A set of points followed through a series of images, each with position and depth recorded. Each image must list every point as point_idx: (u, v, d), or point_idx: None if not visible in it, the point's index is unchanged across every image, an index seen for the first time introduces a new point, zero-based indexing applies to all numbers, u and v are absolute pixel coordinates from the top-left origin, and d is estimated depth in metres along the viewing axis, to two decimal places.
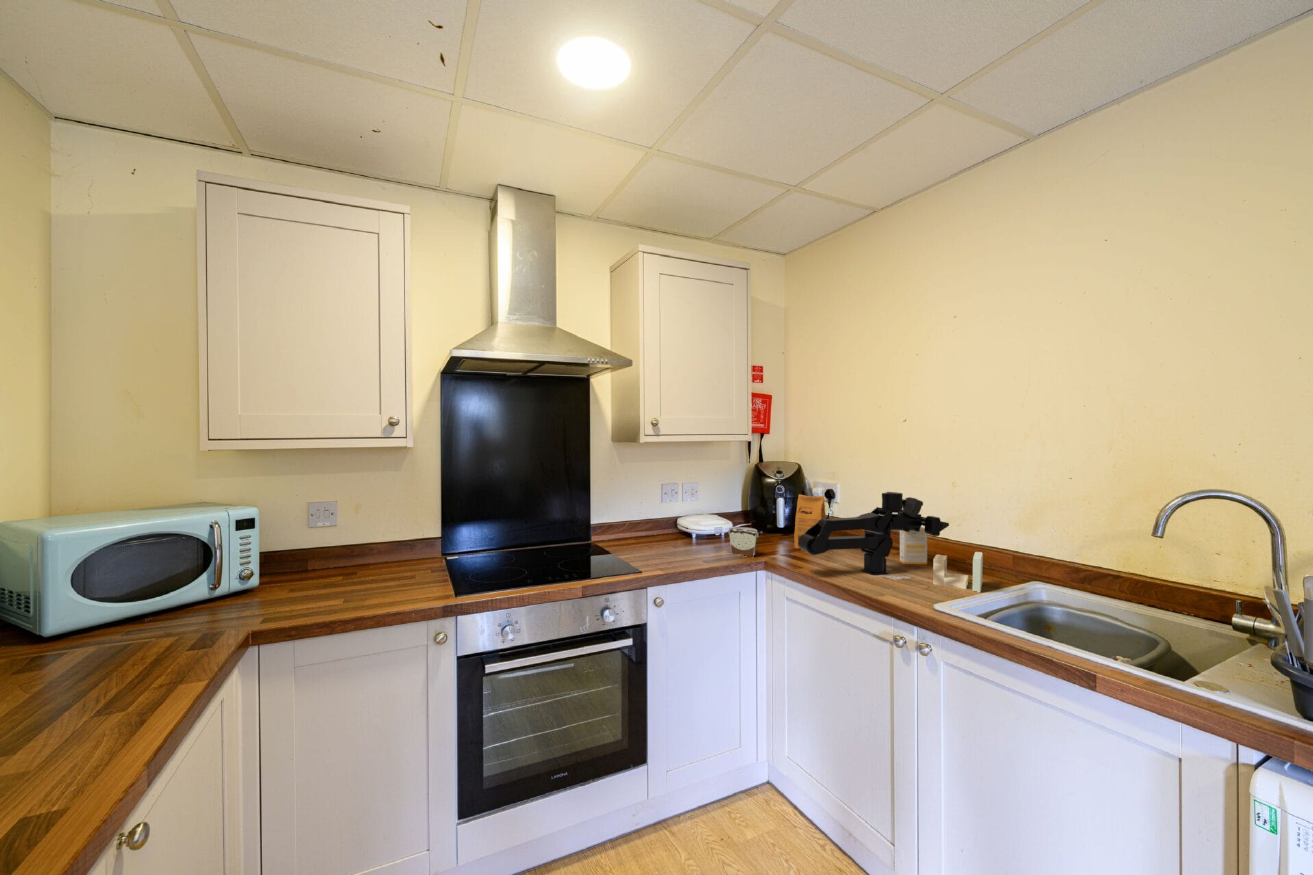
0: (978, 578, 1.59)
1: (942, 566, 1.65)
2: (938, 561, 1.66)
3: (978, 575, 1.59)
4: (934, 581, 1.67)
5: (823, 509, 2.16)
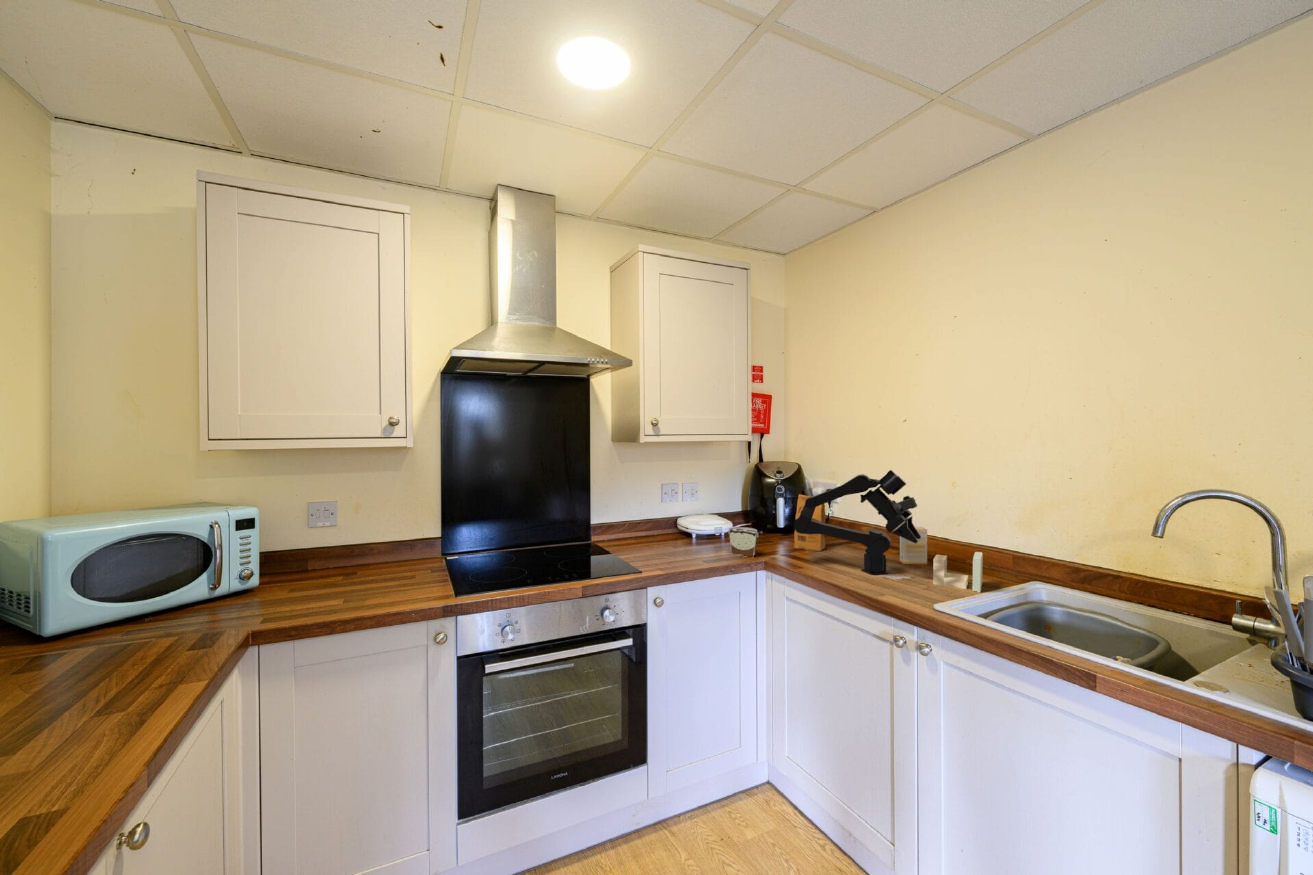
0: (978, 578, 1.59)
1: (942, 566, 1.65)
2: (938, 561, 1.66)
3: (978, 575, 1.59)
4: (934, 581, 1.67)
5: (823, 509, 2.16)
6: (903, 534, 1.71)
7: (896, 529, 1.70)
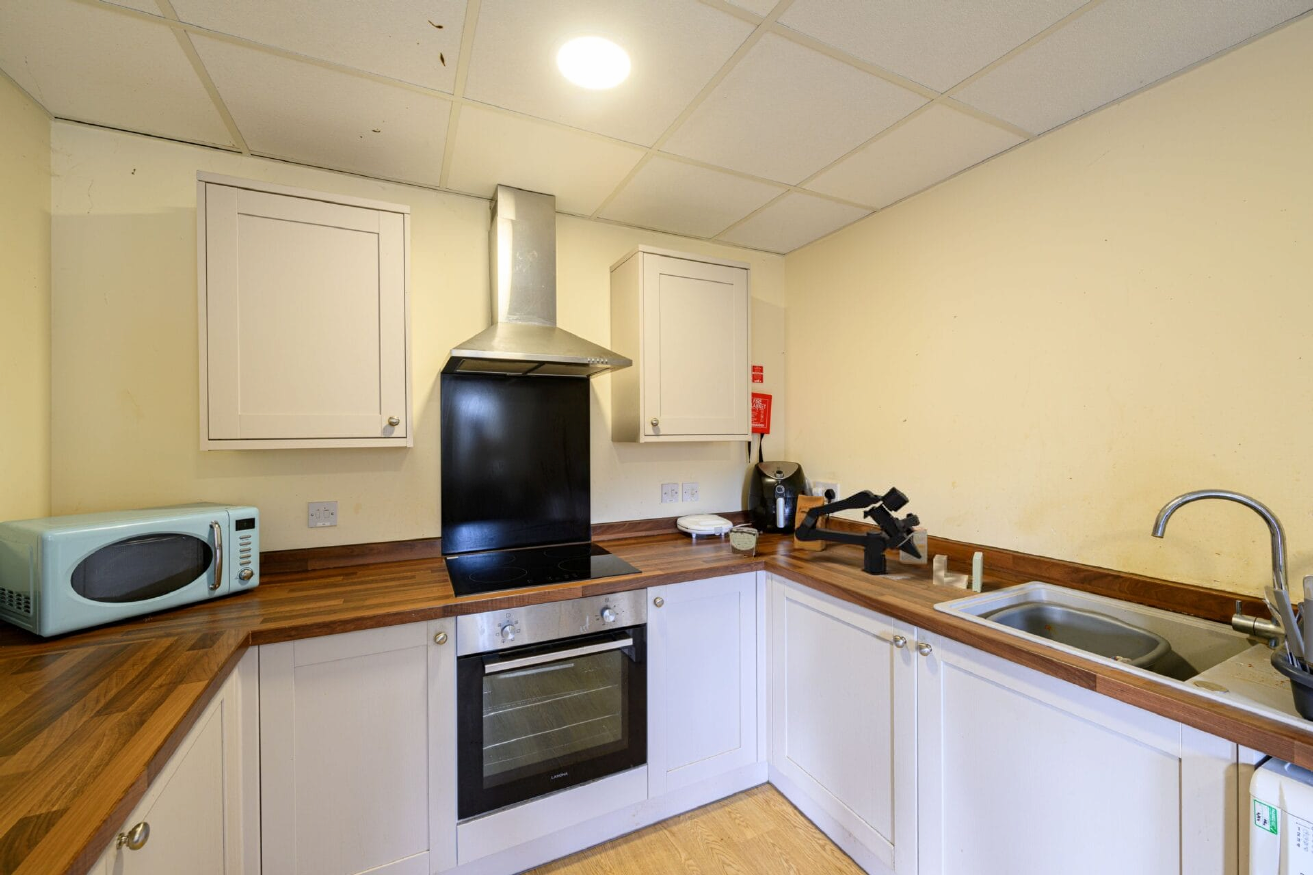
0: (978, 578, 1.59)
1: (942, 566, 1.65)
2: (938, 561, 1.66)
3: (978, 575, 1.59)
4: (934, 581, 1.67)
5: None
6: (907, 550, 1.73)
7: (900, 545, 1.73)
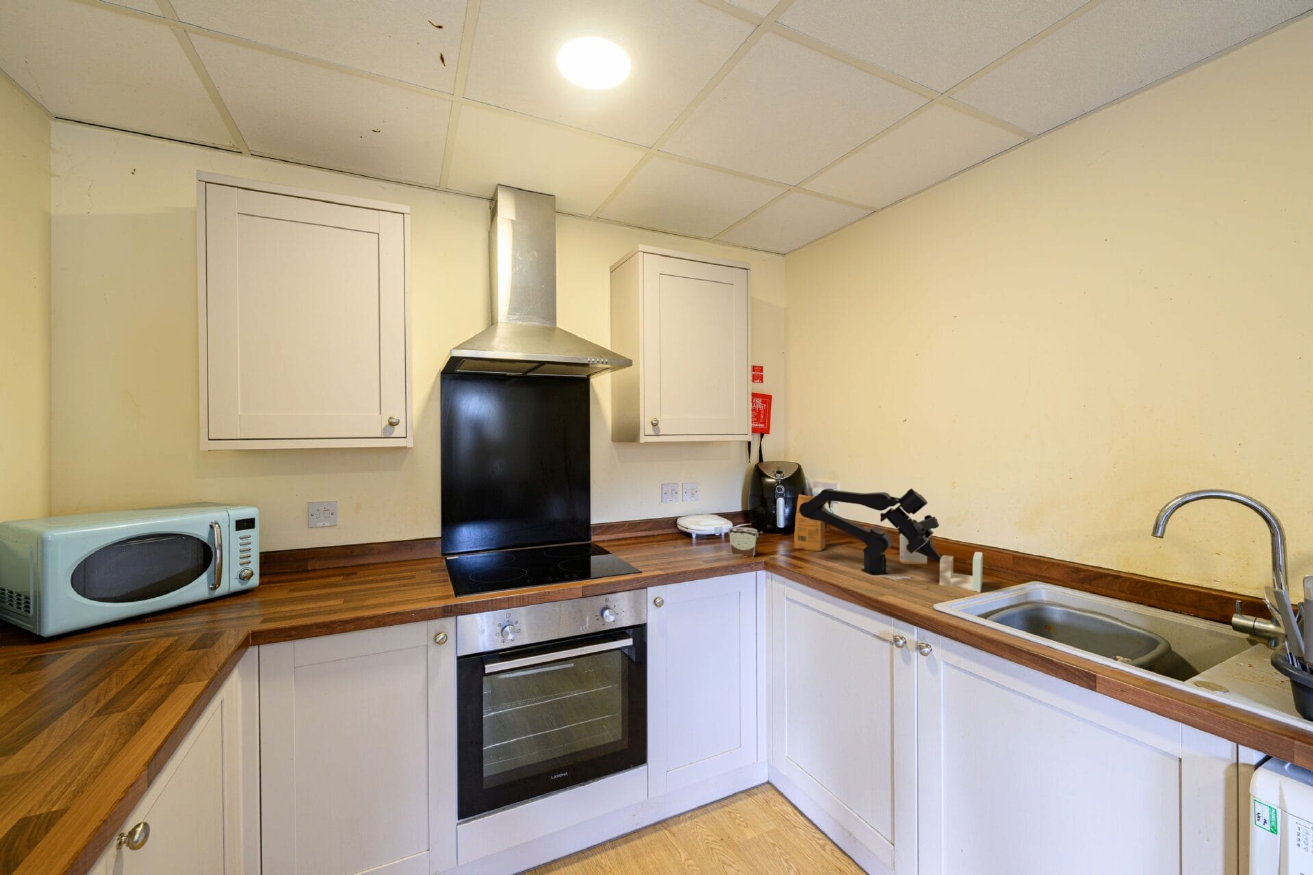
0: (978, 578, 1.59)
1: (949, 567, 1.64)
2: (945, 562, 1.65)
3: (978, 575, 1.59)
4: (940, 582, 1.66)
5: None
6: (926, 552, 1.70)
7: (919, 548, 1.69)
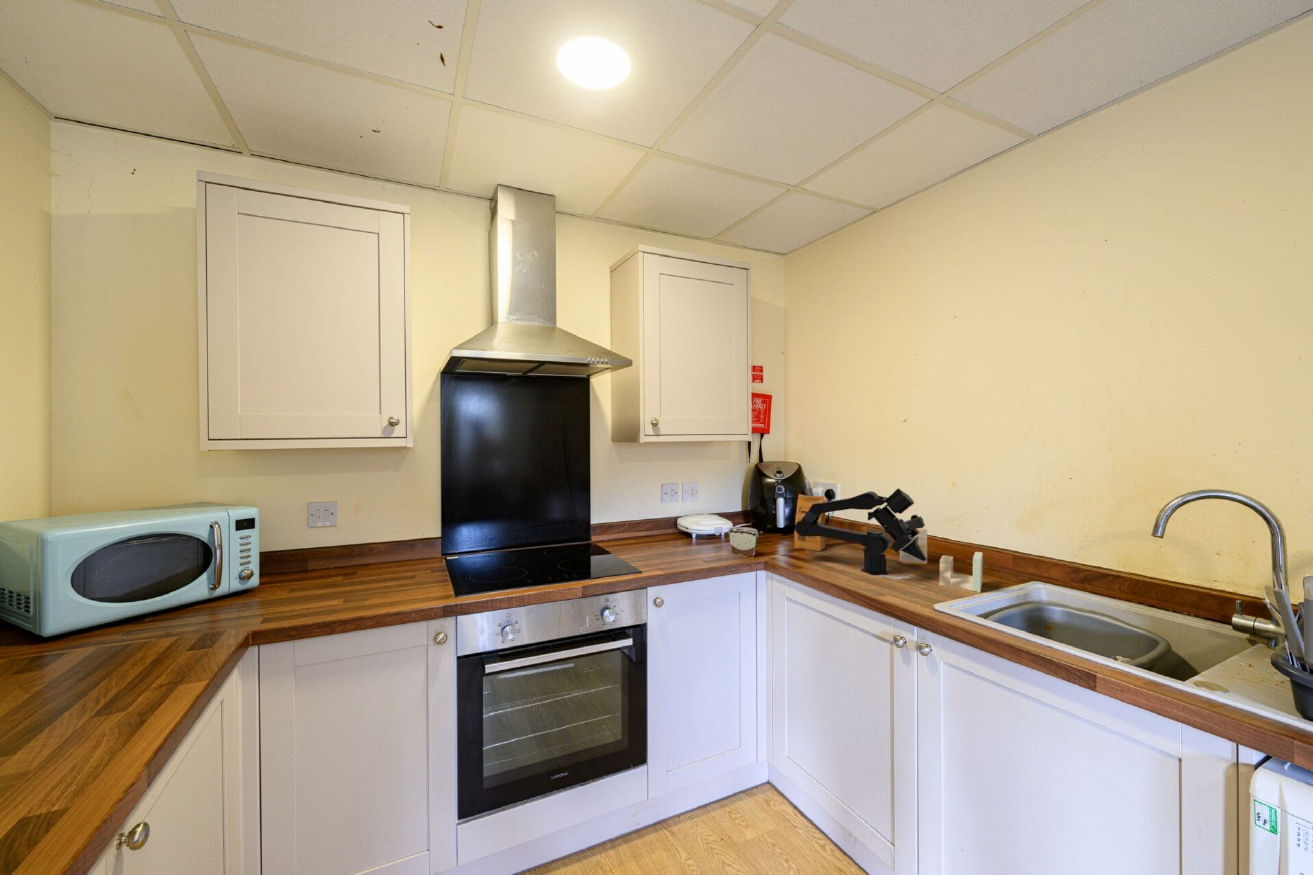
0: (978, 578, 1.59)
1: (948, 567, 1.64)
2: (944, 562, 1.65)
3: (978, 575, 1.59)
4: (940, 582, 1.66)
5: None
6: (912, 552, 1.73)
7: (905, 547, 1.72)
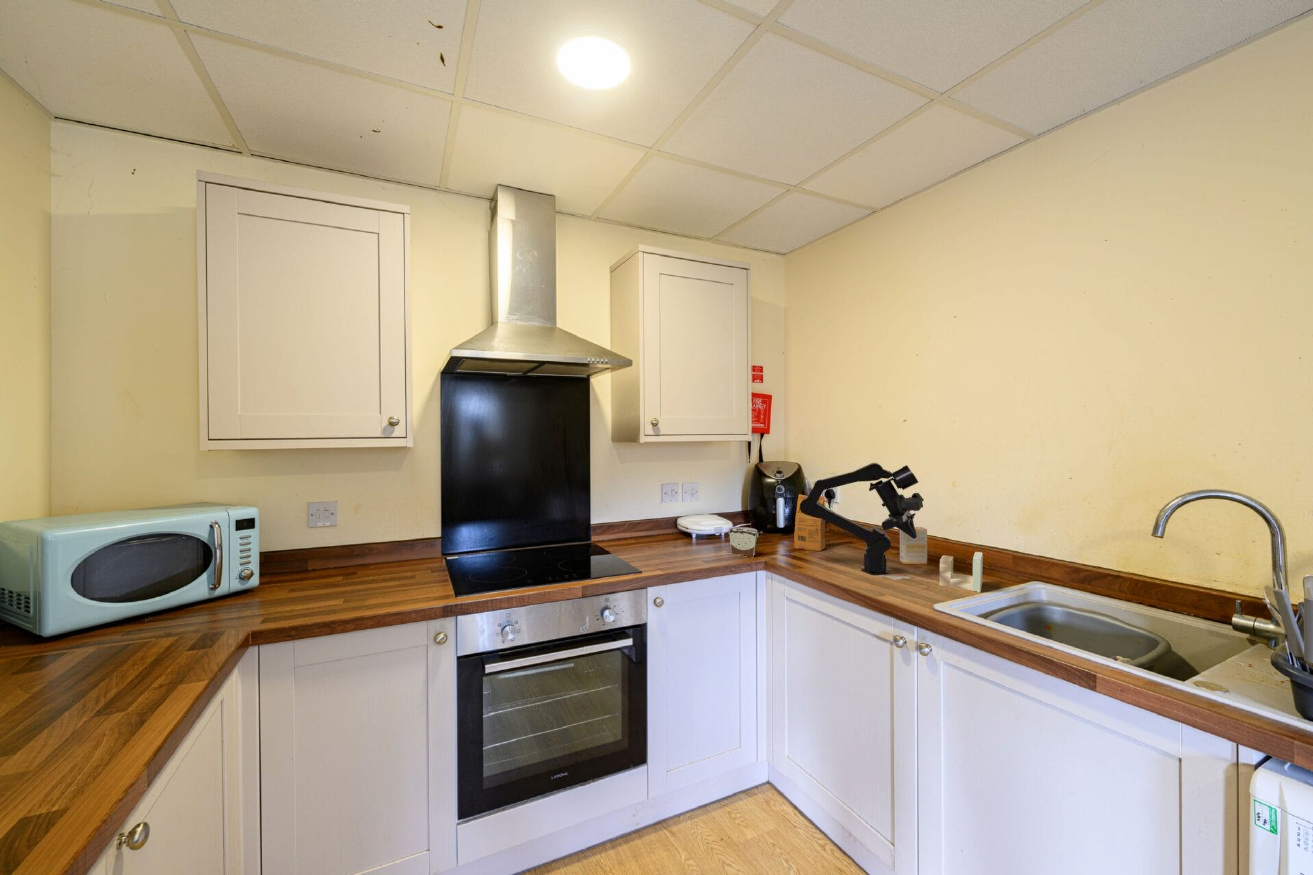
0: (978, 578, 1.59)
1: (948, 567, 1.64)
2: (944, 562, 1.65)
3: (978, 575, 1.59)
4: (940, 582, 1.66)
5: None
6: (903, 528, 1.76)
7: None
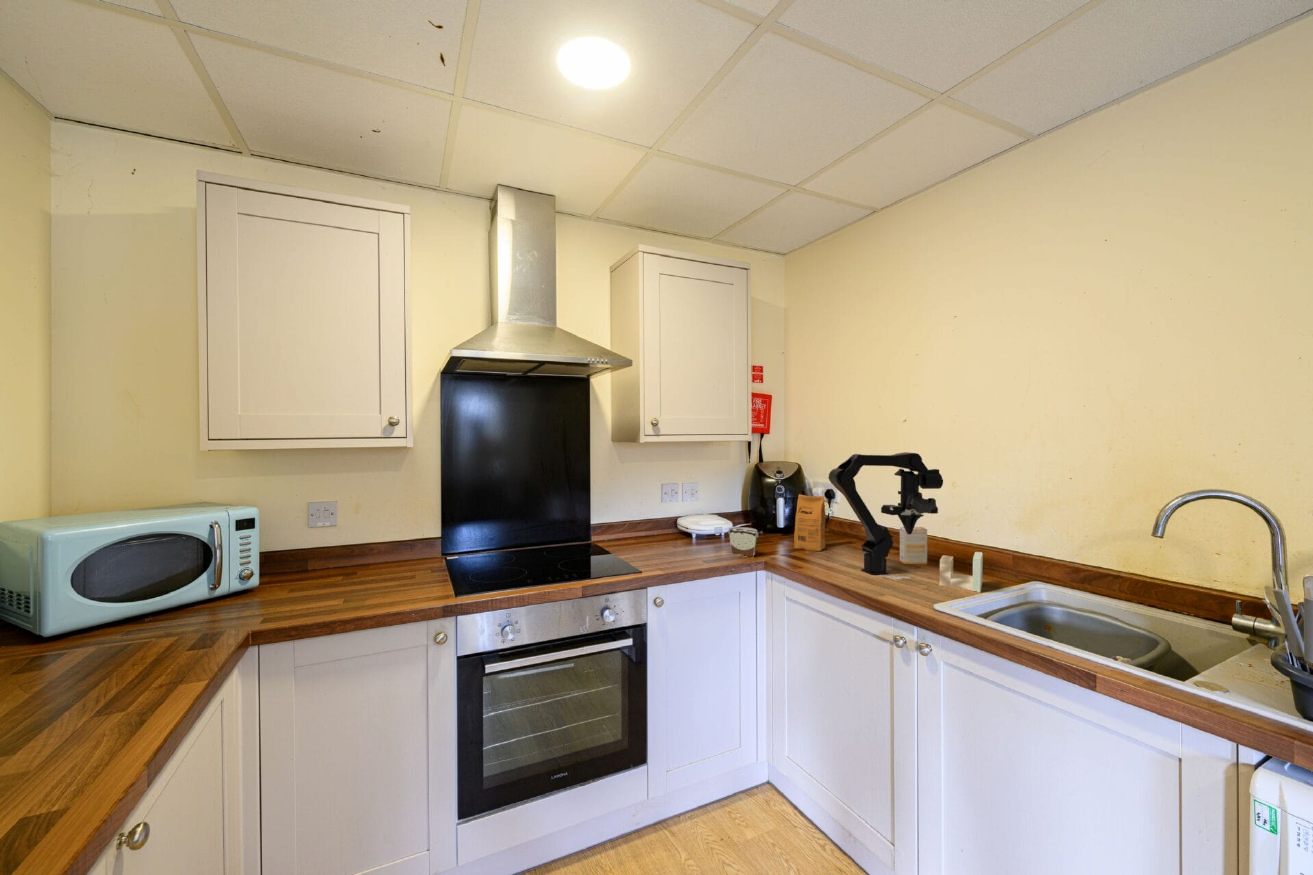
0: (978, 578, 1.59)
1: (949, 567, 1.64)
2: (944, 562, 1.65)
3: (978, 575, 1.59)
4: (940, 582, 1.66)
5: (823, 509, 2.16)
6: (903, 521, 1.82)
7: None
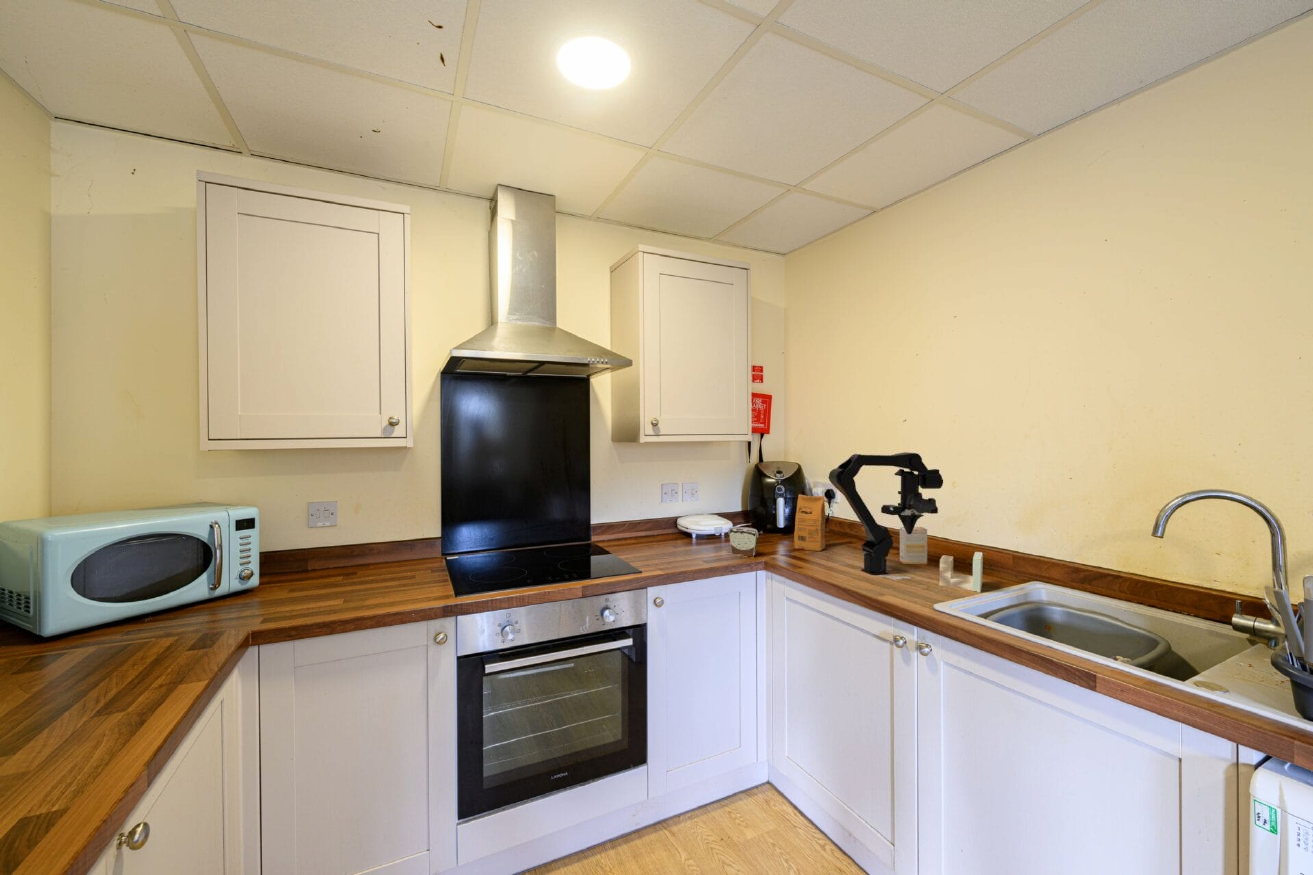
0: (978, 578, 1.59)
1: (948, 567, 1.64)
2: (944, 562, 1.65)
3: (978, 575, 1.59)
4: (940, 582, 1.66)
5: (823, 509, 2.16)
6: (903, 521, 1.82)
7: None
